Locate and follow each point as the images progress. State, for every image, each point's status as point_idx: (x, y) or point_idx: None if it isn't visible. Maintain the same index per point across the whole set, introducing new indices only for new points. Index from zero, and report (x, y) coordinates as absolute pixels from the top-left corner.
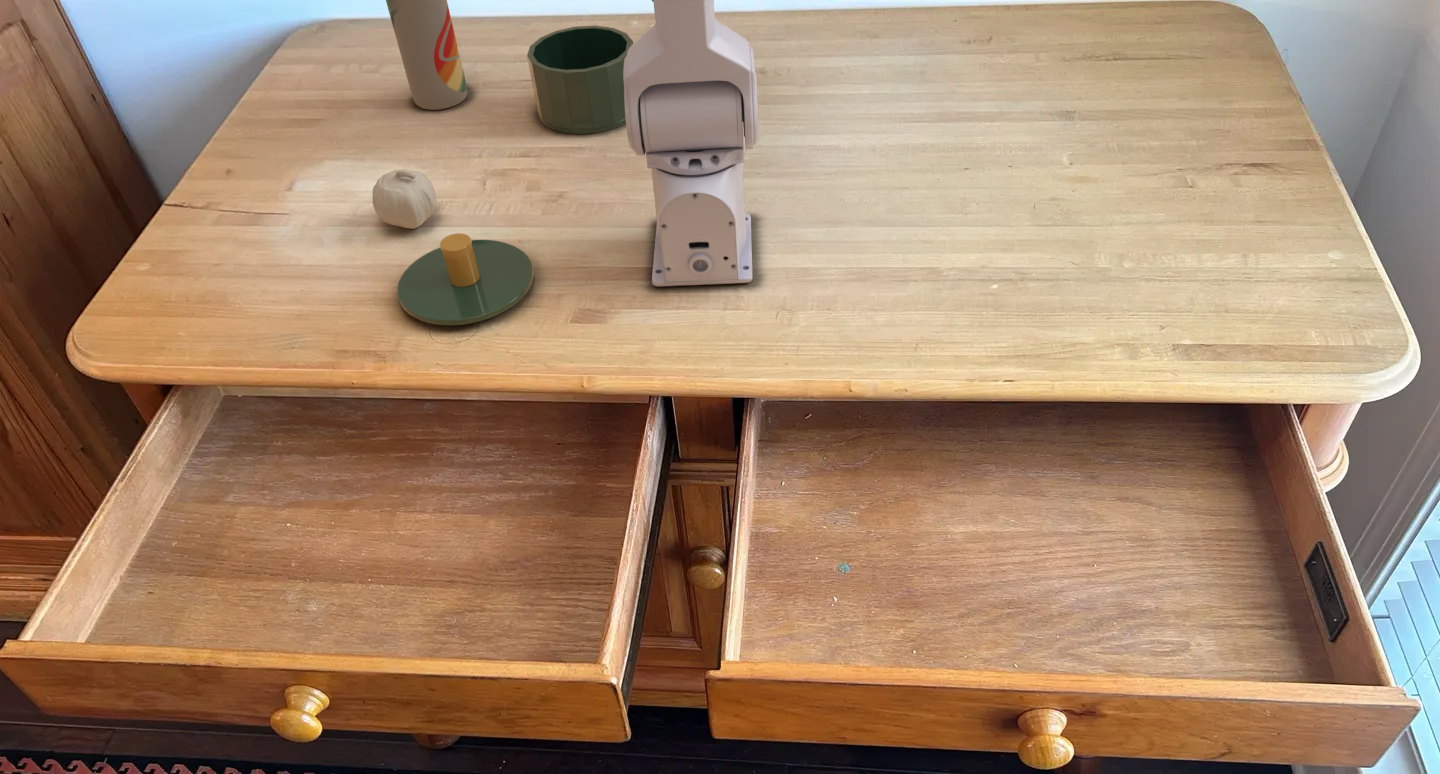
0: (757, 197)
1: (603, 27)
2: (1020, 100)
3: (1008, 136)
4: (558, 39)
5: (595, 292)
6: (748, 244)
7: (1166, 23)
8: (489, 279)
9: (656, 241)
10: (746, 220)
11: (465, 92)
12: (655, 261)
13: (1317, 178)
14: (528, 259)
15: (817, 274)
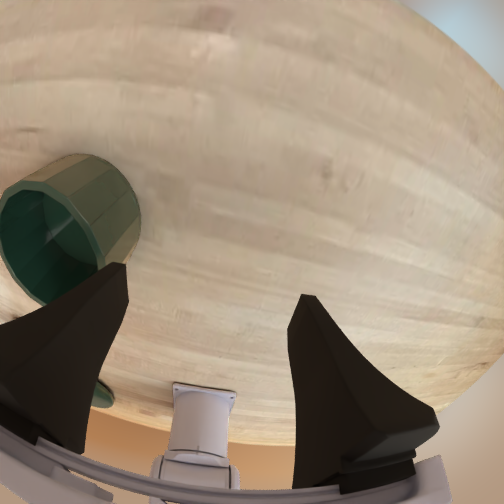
0: (246, 377)
1: (54, 193)
2: (478, 300)
3: (440, 340)
4: (13, 196)
5: (146, 405)
6: (229, 410)
7: None
8: (93, 395)
9: (174, 398)
10: (232, 398)
11: None
12: (174, 407)
13: (486, 370)
14: (106, 392)
15: (262, 419)
